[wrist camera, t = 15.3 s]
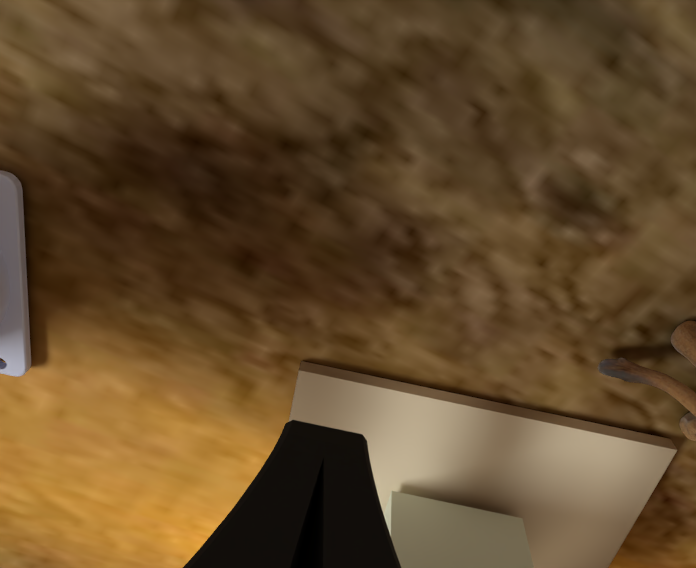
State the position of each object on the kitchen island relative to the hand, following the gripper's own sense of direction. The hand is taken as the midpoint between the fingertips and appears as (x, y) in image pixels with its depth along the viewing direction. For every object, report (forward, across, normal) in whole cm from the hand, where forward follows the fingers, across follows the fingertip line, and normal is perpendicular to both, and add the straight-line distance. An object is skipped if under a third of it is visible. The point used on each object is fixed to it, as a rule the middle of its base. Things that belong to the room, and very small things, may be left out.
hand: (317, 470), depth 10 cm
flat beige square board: (+10, -6, +12) cm, 17 cm away
